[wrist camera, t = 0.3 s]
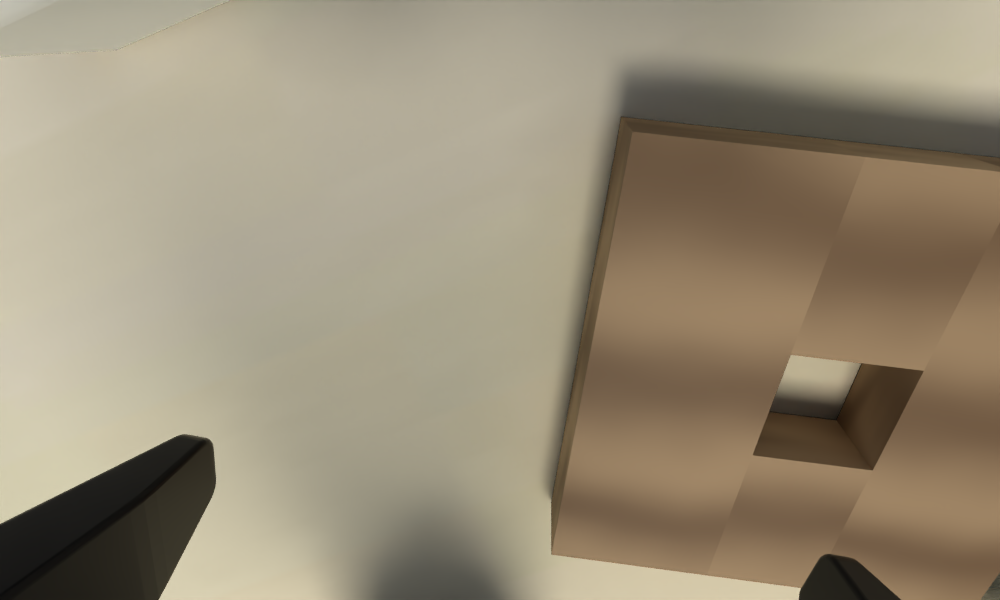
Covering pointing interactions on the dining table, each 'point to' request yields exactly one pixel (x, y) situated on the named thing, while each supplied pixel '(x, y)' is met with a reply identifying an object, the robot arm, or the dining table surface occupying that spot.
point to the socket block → (765, 353)
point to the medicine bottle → (87, 23)
